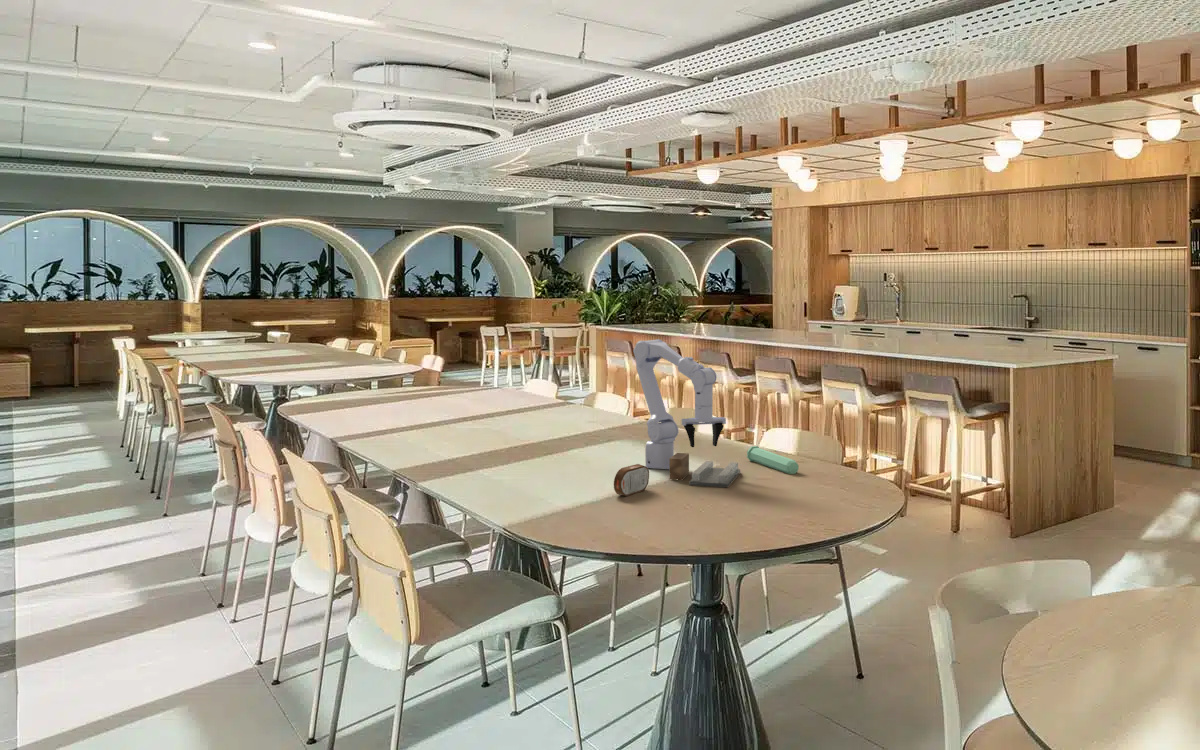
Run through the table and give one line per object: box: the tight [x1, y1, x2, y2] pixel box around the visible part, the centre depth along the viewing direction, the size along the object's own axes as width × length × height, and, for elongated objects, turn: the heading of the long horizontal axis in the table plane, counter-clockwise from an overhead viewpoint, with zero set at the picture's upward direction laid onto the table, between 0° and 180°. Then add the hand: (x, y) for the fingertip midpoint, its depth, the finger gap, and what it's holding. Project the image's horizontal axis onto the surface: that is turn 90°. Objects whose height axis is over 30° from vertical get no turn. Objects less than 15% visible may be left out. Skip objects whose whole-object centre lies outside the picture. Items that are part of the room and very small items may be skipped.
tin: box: [613, 463, 650, 497], centre depth 270 cm, size 15×3×8 cm, turn 141°
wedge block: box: [668, 452, 690, 481], centre depth 292 cm, size 4×10×7 cm, turn 161°
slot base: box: [688, 460, 741, 488], centre depth 288 cm, size 12×22×4 cm, turn 161°
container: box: [746, 445, 799, 475], centre depth 305 cm, size 6×6×25 cm
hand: (703, 446), depth 294 cm, fingers open, 7 cm apart
